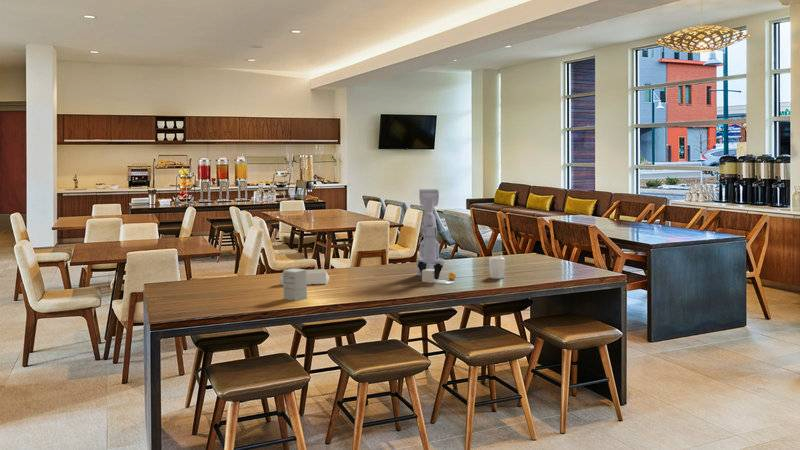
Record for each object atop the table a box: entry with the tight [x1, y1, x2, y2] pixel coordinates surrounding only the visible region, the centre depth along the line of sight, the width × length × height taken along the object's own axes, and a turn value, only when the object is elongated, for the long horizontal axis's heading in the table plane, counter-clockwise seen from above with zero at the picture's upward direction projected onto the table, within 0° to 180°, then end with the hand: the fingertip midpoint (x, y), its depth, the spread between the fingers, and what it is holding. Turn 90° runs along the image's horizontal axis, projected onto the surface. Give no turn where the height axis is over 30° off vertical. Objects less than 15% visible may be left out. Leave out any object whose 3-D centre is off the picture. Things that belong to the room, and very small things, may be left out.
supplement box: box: [282, 267, 308, 302], centre depth 312 cm, size 7×7×13 cm
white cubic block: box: [421, 269, 439, 284], centre depth 351 cm, size 6×6×6 cm
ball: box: [447, 271, 457, 281], centre depth 354 cm, size 4×4×4 cm
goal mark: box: [432, 279, 455, 285], centre depth 348 cm, size 10×10×1 cm
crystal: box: [279, 268, 330, 286], centre depth 347 cm, size 7×7×24 cm
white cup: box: [488, 256, 506, 280], centre depth 359 cm, size 8×8×10 cm
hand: (430, 278), depth 351 cm, fingers open, 7 cm apart
